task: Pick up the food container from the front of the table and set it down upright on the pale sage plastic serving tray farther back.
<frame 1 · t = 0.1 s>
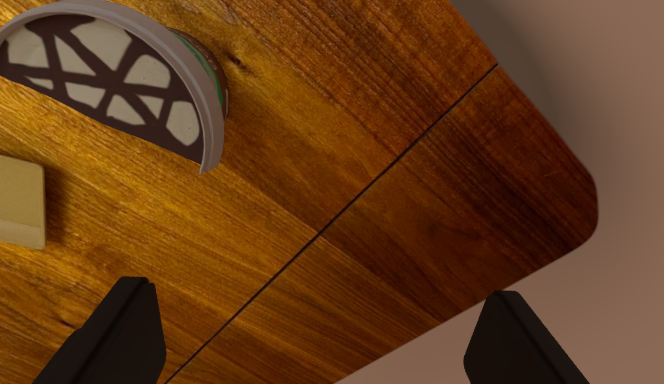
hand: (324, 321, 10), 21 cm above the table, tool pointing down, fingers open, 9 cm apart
food container: (182, 58, 26), on the table
saucer: (8, 186, 30), on the table
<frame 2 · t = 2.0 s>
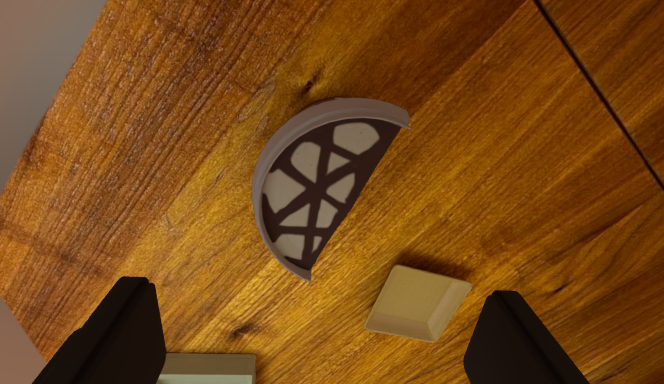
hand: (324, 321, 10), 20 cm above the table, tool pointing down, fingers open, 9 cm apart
food container: (307, 137, 28), on the table
saucer: (410, 291, 36), on the table
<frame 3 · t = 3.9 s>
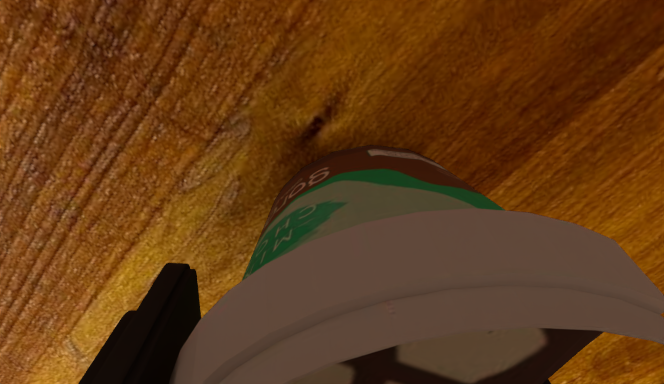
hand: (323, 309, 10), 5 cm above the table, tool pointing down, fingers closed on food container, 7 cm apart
food container: (314, 215, 15), on the table, touching gripper
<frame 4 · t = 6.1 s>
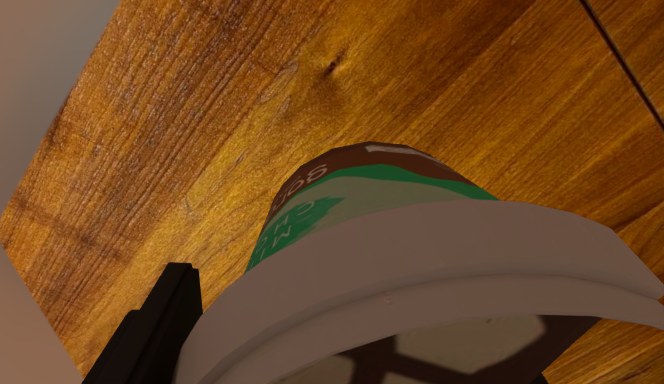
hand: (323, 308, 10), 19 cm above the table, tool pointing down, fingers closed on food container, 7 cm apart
food container: (313, 212, 15), point 14 cm above the table, touching gripper
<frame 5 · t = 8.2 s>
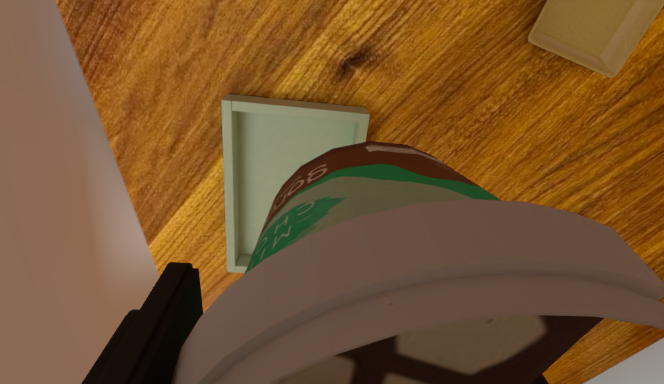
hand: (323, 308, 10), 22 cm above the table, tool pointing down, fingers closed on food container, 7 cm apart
food container: (314, 212, 15), point 16 cm above the table, touching gripper
saucer: (585, 3, 27), on the table
tray: (292, 188, 32), on the table
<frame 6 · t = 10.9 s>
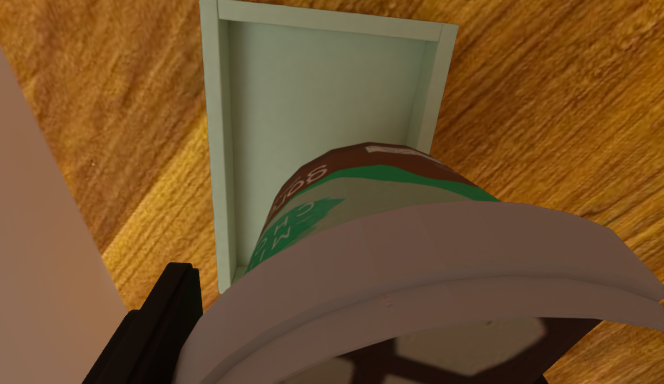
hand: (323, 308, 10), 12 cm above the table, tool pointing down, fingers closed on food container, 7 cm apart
food container: (314, 213, 15), point 6 cm above the table, touching gripper
tray: (318, 164, 21), on the table
when the fingers open (6 cm above the table, at t = 12.8 s): food container stays where it is, resting on tray.
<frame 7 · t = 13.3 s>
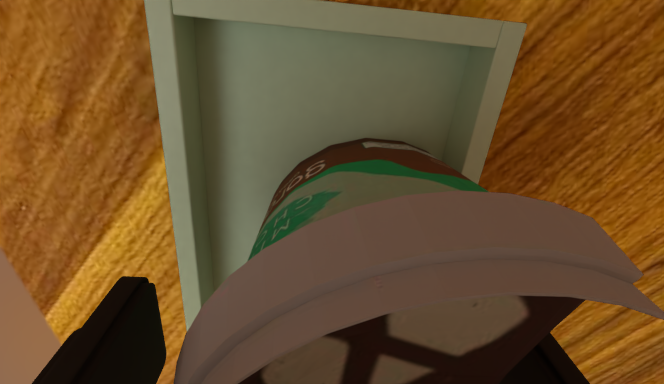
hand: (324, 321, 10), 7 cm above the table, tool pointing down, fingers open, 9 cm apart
food container: (312, 208, 15), resting on tray
tray: (320, 206, 16), on the table
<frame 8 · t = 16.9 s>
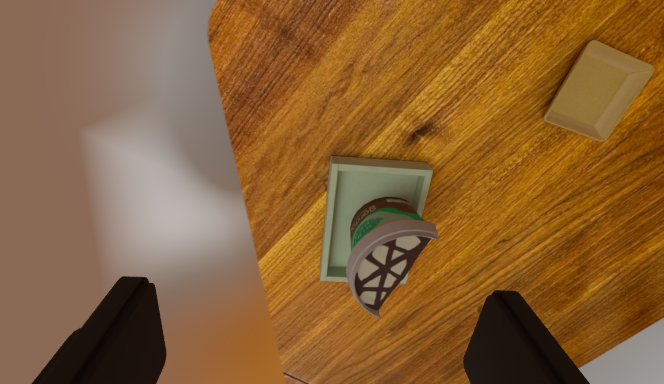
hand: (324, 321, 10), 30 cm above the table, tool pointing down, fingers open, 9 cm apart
food container: (367, 219, 43), resting on tray
saucer: (583, 91, 38), on the table
tray: (369, 219, 44), on the table
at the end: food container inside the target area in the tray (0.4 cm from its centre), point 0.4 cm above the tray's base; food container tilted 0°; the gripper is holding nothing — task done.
